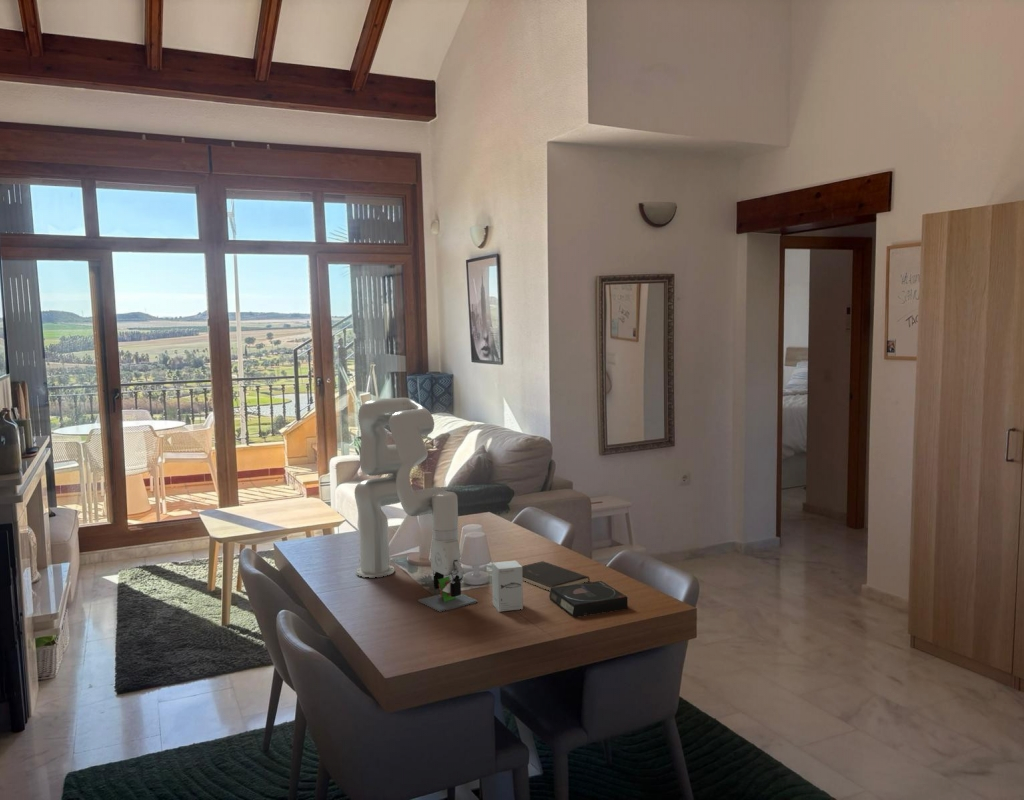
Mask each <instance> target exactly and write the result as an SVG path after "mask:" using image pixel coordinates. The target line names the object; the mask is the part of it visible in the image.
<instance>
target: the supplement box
mask: <svg viewBox="0 0 1024 800" xmlns="http://www.w3.org/2000/svg"><path fill="white" fill-rule="evenodd" d="M522 566H523V565H521V564H520V563H519V562H518V561H517V560H507V561H505V560H504V561H497V562H496V561H495V562H492V563H491V579H492V580H491V582H492V583H491V586H492V590H491V591H492V605H493V607H494V608H495V609H496V610H497V611H498V613H501V612H507V611H517V610H520V609H521V610H523V609H524V598H523V597H524V593H523V592H524V589H523V585H524V584H523V582H524V581H523V580H522Z"/></svg>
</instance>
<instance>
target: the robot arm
mask: <svg viewBox="0 0 1024 800" xmlns="http://www.w3.org/2000/svg"><path fill="white" fill-rule="evenodd" d="M357 414H358V415H357V419H358V424H359V429H360V436H361V437H360V461H359V462H360V470H361V473H363V475H364V476H368V477H369V476H370V477H373V476H381V477H374V478H368V479H364V480H362V481H359V482H358V483H357V485H356V486H355V488H354V499H355V503H356V508H357V509H356V510H357V516H358V517H357V518H358V531H359V536H358V538H359V557H360V558H359V559H358V561H359V563H360V567H357V569H356V571H355V575H357V576H358V575H359V576H358V577H360V576H362V577H361V578H365V577H369V579H375V577H377V578H383V576H384V577H388V576H391V575H392V574H394V572H395V567H394V566H393V565H390V545H389V543H390V542H389V522H388V521H389V520H388V517H387V515H386V514H385V512H384V511H383V509H382V507H385V506H390V505H391V506H392V505H395V504H396V505H397V504H400V505H401V508H402V509H403V511H404V512H405V513H406V515H408V516H410V517H418V516H424V515H430V514H431V516H432V517H431V520H432V521H431V523H432V539H431V547H430V559H429V561H430V568H431V570H432V575H433V589H434V590H435V589H436V590H440V589H439V586H438V584H439V581H438V580H439V579H442V578H445V577H448V576H449V578H450V581H451V582H452V583H450V591H451V597H455V596H459V595H461V593H462V588H461V586H462V584H461V582H462V580H463V577H464V572H465V570H464V569H463V567H462V566H461V565H462V564H461V563H462V562H461V559H462V558H461V549H460V543H459V539H460V538H459V510H458V509H459V507H458V495H457V494H456V492H454V491H447V490H445V489H444V488H443V487H439V486H435V487H429V488H428V487H427V488H423V489H416V490H414V489H413V486H412V482H411V471H412V469H414V468H415V467H416V466H418V465H420V464H421V463H423V462H424V461H425V460H426V459H427V457H428V456H429V453H428V449H427V447H426V445H425V444H426V443H425V441H424V439H423V436H427V435H430V434H432V432H433V431H434V429H435V420H434V417H433V415H432V413H431V412H430V411H429V409H427V408H426V407H424V406H423V405H421V404H420V403H418V402H417V401H415V400H413V399H412V398H410V397H393V398H391V397H390V398H378V399H371V400H367V401H365V402H363V403H362V404H361V405H360V407H359V409H358V413H357ZM384 426H388V427H389V430H390V433H391V436H392V439H393V442H394V444H388V432H387V430H386V429H385V427H384ZM383 475H384V476H383ZM385 475H388V476H385ZM387 575H388V576H387ZM454 576H455V577H454ZM437 581H438V582H437Z"/></svg>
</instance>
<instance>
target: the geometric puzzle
mask: <svg viewBox="0 0 1024 800" xmlns="http://www.w3.org/2000/svg"><path fill="white" fill-rule="evenodd" d="M438 581H439V584H438V586H439V589H438V590H439V591H438V593H440V594H441V598H442V599H443V602H446V601H449V600H452V599H455V597H451V591H450V583H452V582H451V579H450V577H449V575H448V576H444V578H442V579H439V580H438ZM438 581H437V582H438ZM436 590H437V589H434V592H433V595H436V596H437V595H438V594H436ZM439 597H440V596H439Z"/></svg>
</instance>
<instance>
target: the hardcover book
mask: <svg viewBox="0 0 1024 800" xmlns="http://www.w3.org/2000/svg"><path fill="white" fill-rule="evenodd" d="M521 566H522V580H523V582H525V581H526V582H525V583H527V582H529V583H528V584H530V583H531V585H532V584H534V585H533V586H535V585H536V586H535V587H537V586H538V588H540V587H541V589H543V588H544V590H545V589H546V591H548V590H549V592H550V590H551V588H553V587H560V586H568V585H575V584H580V583H581V584H582V583H584V582H585V583H589V582H591V581H590V577H589V576H588V575H585V574H581V573H579V572H576V571H572V570H570V569H567V568H565V567H562V566H560V565H559V566H558V565H556V564H552V563H550V562H546V561H544V560H543V561H538V562H532V563H528V564H525V565H521ZM588 581H589V582H588Z"/></svg>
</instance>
